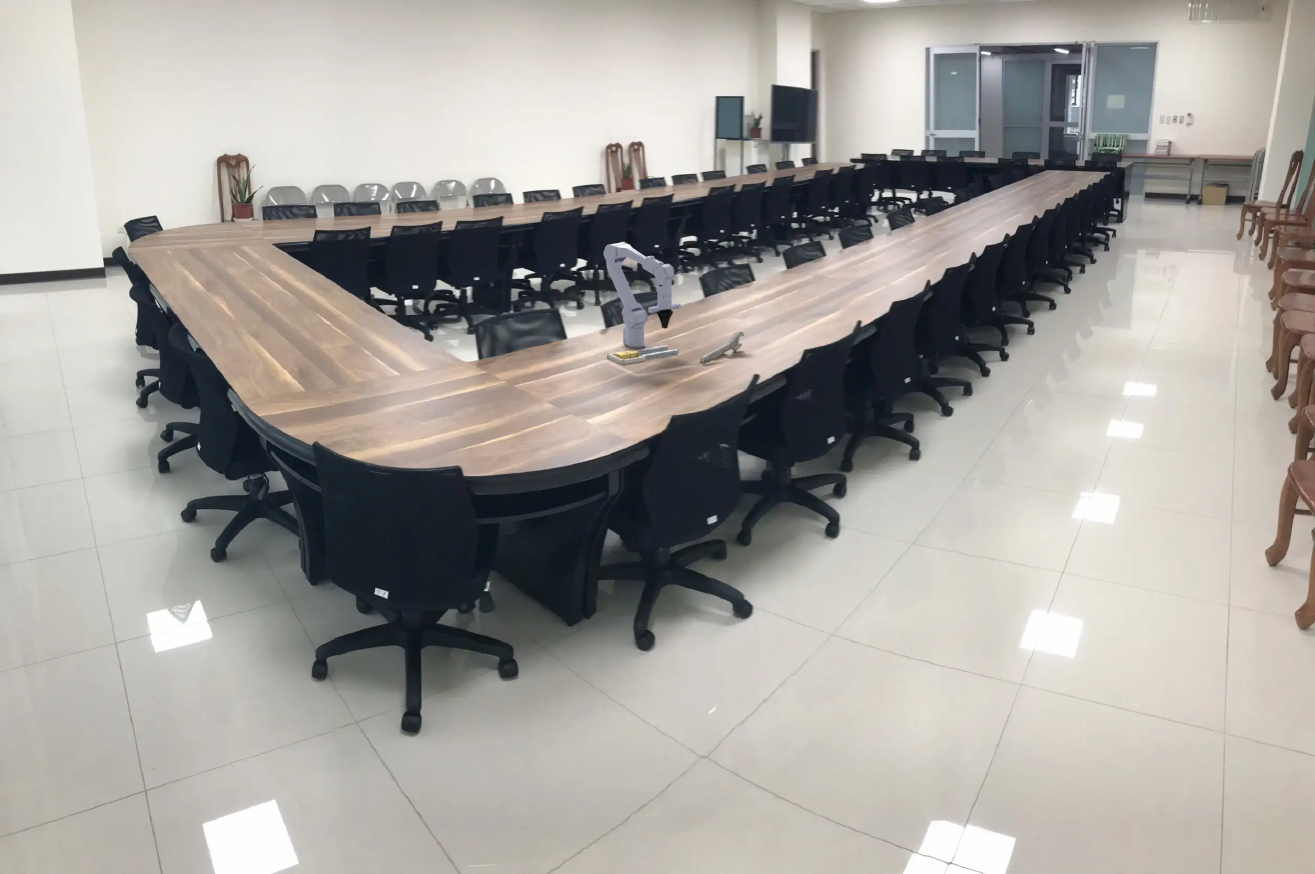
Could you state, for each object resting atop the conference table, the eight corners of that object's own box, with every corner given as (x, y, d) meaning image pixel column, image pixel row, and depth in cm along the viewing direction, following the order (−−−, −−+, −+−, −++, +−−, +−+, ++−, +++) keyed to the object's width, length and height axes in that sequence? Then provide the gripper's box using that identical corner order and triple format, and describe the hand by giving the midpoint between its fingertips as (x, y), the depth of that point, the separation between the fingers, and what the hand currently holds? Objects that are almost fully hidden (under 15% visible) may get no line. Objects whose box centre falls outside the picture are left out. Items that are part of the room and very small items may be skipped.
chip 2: (625, 358, 365) (625, 351, 364) (633, 357, 367) (633, 350, 366) (630, 361, 362) (630, 353, 361) (639, 359, 364) (639, 352, 363)
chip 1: (616, 360, 363) (616, 353, 362) (624, 358, 365) (624, 351, 364) (621, 362, 359) (621, 355, 358) (630, 361, 362) (629, 353, 360)
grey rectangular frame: (607, 360, 365) (607, 354, 364) (629, 356, 370) (629, 350, 370) (622, 366, 356) (622, 360, 355) (645, 362, 361) (645, 356, 360)
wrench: (700, 370, 361) (741, 347, 382) (703, 371, 360) (744, 348, 381) (699, 351, 358) (740, 329, 379) (702, 352, 357) (744, 329, 378)
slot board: (629, 356, 370) (629, 350, 370) (664, 350, 379) (664, 344, 378) (645, 362, 361) (645, 356, 360) (680, 356, 370) (680, 350, 369)
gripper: (655, 298, 361) (655, 332, 365) (684, 294, 368) (684, 327, 373) (645, 295, 366) (645, 329, 371) (675, 291, 374) (675, 324, 378)
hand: (664, 328), depth 372 cm, fingers closed
